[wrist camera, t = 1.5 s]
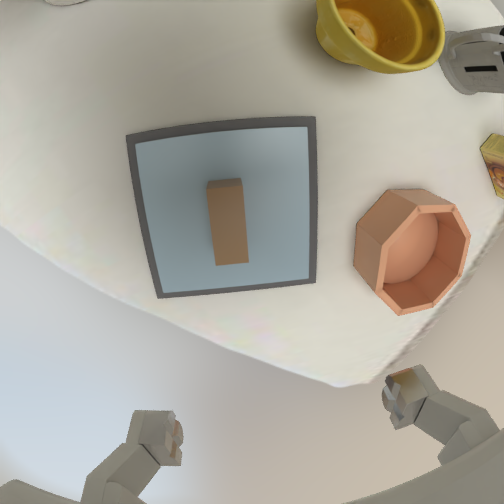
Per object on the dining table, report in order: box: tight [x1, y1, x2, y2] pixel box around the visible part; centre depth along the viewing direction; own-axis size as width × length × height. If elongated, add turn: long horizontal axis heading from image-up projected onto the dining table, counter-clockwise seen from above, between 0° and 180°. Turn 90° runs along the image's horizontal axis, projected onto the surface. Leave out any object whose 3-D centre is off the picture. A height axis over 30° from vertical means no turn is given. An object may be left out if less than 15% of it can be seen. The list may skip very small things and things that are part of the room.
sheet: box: [135, 127, 309, 293], centre depth 27 cm, size 16×16×4 cm
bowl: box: [353, 189, 471, 316], centre depth 29 cm, size 13×13×6 cm
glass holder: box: [438, 25, 504, 95], centre depth 16 cm, size 9×14×15 cm, turn 100°
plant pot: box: [316, 0, 445, 74], centre depth 18 cm, size 10×10×10 cm
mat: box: [126, 117, 318, 299], centre depth 29 cm, size 18×18×1 cm
